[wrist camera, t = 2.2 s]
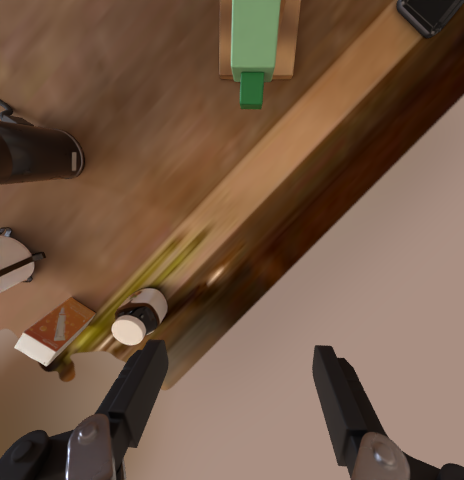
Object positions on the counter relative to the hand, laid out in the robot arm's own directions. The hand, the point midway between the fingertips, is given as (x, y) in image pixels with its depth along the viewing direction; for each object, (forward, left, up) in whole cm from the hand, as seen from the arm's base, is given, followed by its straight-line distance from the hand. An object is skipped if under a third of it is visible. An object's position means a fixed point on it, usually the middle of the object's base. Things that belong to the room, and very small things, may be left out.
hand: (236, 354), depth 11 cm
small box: (-23, -49, -36) cm, 65 cm away
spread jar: (-7, -35, -36) cm, 51 cm away
